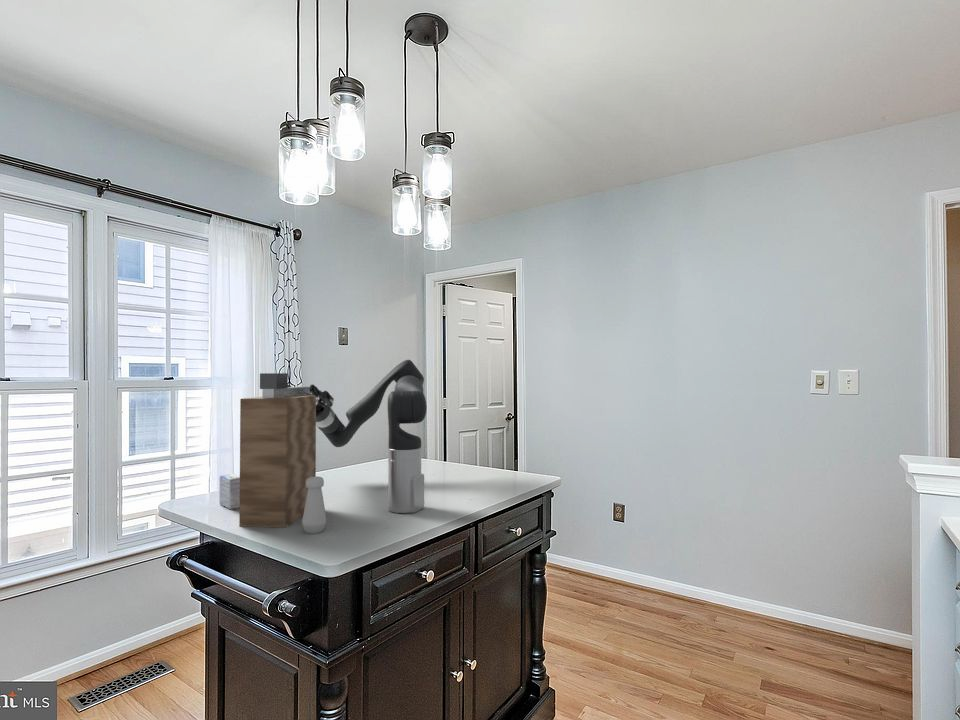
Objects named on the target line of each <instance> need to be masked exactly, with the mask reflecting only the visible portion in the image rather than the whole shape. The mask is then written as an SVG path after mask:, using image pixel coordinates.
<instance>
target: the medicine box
mask: <svg viewBox="0 0 960 720" xmlns="http://www.w3.org/2000/svg"><path fill="white" fill-rule="evenodd" d="M219 506H222V507H224V506H225V508H227V509H228V510H235V509H240V508H239V507H240V474H238V473H228V474H227V473H226V474H223V475H220V476H219ZM234 508H235V509H234Z"/></svg>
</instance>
